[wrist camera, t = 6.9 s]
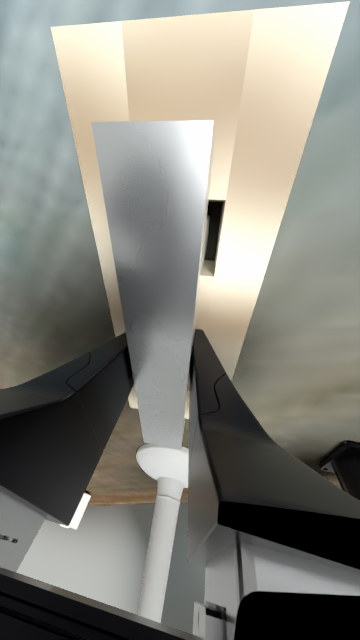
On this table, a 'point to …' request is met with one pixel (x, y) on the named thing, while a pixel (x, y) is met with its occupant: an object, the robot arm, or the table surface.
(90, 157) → the maple rail
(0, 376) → the table surface
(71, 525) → the bracket
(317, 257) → the table surface
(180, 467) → the candlestick
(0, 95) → the table surface
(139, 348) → the steel clip
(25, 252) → the table surface
